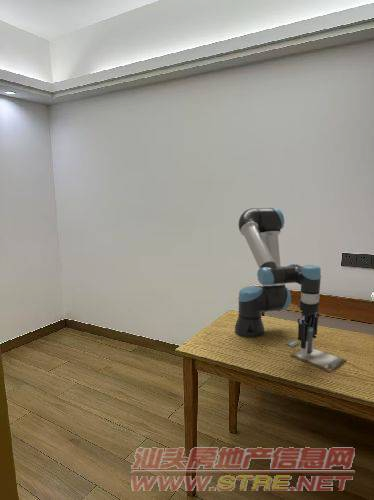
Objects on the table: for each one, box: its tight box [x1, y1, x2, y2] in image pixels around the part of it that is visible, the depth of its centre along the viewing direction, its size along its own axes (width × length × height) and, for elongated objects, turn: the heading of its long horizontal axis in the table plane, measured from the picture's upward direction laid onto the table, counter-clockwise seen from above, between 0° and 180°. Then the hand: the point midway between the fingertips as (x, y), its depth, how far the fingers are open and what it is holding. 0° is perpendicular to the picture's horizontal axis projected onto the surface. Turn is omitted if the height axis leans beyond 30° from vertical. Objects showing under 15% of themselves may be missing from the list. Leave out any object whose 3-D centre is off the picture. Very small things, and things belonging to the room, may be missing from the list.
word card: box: [284, 339, 301, 348], centre depth 158 cm, size 4×6×1 cm, turn 130°
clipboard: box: [290, 347, 347, 373], centre depth 144 cm, size 18×14×2 cm
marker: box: [307, 326, 313, 356], centre depth 145 cm, size 4×4×12 cm
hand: (306, 352), depth 146 cm, fingers closed on marker, 4 cm apart
